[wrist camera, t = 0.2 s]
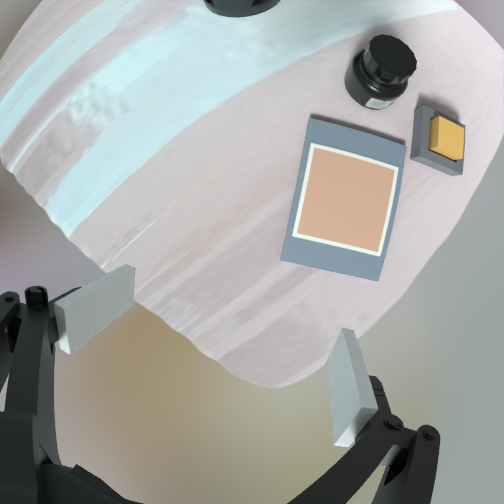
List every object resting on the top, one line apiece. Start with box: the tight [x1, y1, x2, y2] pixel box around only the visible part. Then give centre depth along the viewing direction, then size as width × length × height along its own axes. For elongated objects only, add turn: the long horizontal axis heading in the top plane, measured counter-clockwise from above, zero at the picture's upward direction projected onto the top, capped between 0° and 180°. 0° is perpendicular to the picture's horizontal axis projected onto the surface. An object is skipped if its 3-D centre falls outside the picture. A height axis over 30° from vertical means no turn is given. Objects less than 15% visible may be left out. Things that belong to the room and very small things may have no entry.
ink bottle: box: [345, 35, 417, 110], centre depth 29 cm, size 10×9×12 cm
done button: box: [428, 116, 464, 161], centre depth 32 cm, size 5×5×4 cm
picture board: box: [281, 118, 406, 281], centre depth 39 cm, size 22×16×1 cm
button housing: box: [410, 105, 465, 176], centre depth 34 cm, size 9×9×4 cm
